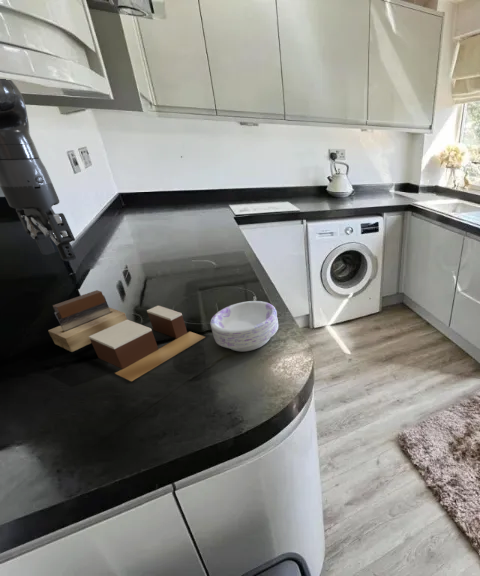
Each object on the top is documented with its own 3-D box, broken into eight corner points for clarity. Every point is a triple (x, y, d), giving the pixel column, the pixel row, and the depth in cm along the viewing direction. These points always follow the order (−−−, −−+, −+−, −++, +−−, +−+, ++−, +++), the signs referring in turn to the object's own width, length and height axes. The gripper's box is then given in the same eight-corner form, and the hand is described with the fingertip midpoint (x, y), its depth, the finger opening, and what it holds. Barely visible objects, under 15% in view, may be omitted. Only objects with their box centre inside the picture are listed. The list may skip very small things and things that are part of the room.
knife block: (73, 355, 76) (65, 338, 74) (56, 347, 79) (47, 330, 76) (131, 328, 87) (124, 312, 84) (114, 322, 89) (107, 306, 87)
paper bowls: (218, 331, 86) (212, 305, 83) (277, 320, 92) (273, 296, 88) (214, 365, 74) (207, 337, 70) (283, 351, 79) (279, 324, 76)
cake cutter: (74, 349, 78) (54, 308, 73) (69, 347, 79) (49, 306, 74) (119, 329, 86) (103, 290, 81) (114, 327, 87) (99, 289, 82)
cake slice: (153, 330, 84) (146, 310, 82) (164, 324, 87) (158, 305, 84) (176, 339, 81) (170, 318, 79) (187, 332, 84) (181, 313, 81)
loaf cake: (98, 358, 74) (88, 336, 71) (134, 339, 80) (127, 319, 78) (122, 369, 71) (113, 347, 68) (158, 349, 77) (151, 328, 75)
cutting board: (78, 358, 75) (77, 355, 75) (155, 321, 90) (154, 318, 89) (132, 385, 68) (131, 381, 67) (206, 340, 83) (205, 336, 82)
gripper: (-17, 181, 65) (21, 256, 72) (18, 187, 60) (55, 268, 67) (32, 177, 71) (62, 247, 79) (67, 182, 66) (96, 256, 73)
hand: (59, 256), depth 73 cm, fingers open, 8 cm apart
